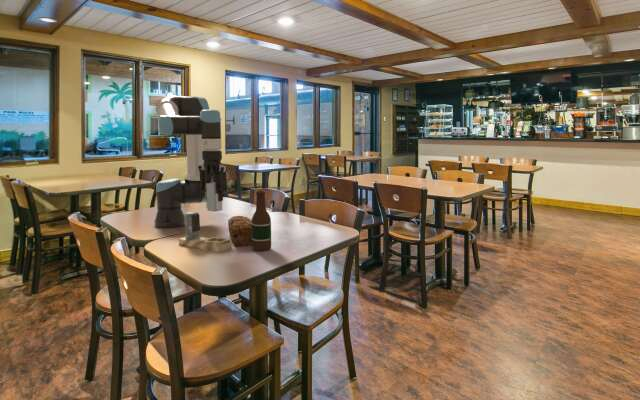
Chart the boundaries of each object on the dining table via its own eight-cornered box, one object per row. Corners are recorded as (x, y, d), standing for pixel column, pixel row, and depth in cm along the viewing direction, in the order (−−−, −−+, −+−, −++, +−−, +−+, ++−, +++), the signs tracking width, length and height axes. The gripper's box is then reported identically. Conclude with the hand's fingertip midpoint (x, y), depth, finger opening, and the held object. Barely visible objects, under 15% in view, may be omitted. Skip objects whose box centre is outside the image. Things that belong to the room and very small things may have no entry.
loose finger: (222, 209, 161) (221, 182, 160) (214, 211, 158) (213, 183, 156) (213, 208, 164) (212, 182, 162) (206, 210, 160) (204, 183, 159)
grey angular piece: (178, 244, 170) (177, 213, 168) (191, 240, 176) (190, 210, 173) (219, 252, 158) (217, 219, 156) (231, 248, 164) (230, 216, 162)
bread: (228, 236, 184) (227, 215, 182) (251, 235, 187) (251, 214, 185) (232, 247, 166) (232, 224, 165) (258, 245, 169) (257, 222, 168)
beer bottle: (261, 245, 169) (260, 189, 165) (275, 248, 164) (274, 190, 160) (248, 249, 162) (246, 191, 158) (262, 253, 158) (261, 193, 154)
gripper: (188, 149, 158) (191, 207, 162) (221, 150, 150) (224, 212, 153) (202, 149, 165) (205, 205, 169) (235, 150, 156) (237, 209, 160)
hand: (214, 208), depth 161 cm, fingers closed on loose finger, 5 cm apart
